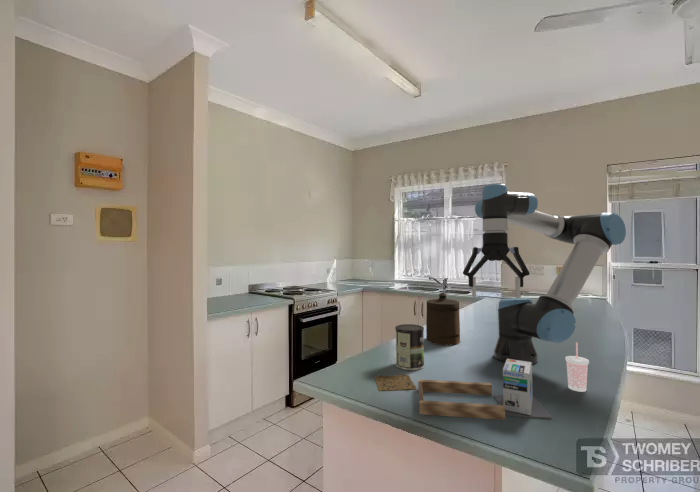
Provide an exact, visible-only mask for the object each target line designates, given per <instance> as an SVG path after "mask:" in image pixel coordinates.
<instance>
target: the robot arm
mask: <svg viewBox="0 0 700 492" xmlns="http://www.w3.org/2000/svg"><path fill="white" fill-rule="evenodd" d="M481 194H482V195H481V199H478V200H477V202H476V204H475V205H474V211H475V215H476V216H477V217H478V218H480V219H482V232H484V233H483V234H482V247H476V246H474V247H473V248H472V252H471V253H472V254H471V255H470V257H469V259H468V261H467V263H466V265H465V267H464V269H463V271H462V274H463V275H464V276H466V277H467V278H468V287H469V288H471V296H472V297H473V298H477V287H476V285H477V284H476V282H477V280H476V279H477V277H476V276H475V275H476V274H477V273H478V271H479V270H480V269H481V268H482V267H483V266H484V265H485V264H486V263H487V262H488V261H490V262H493V261H498V262H501V261H504V263H506V265H507V266H508V267H509V268H510V269H511V270H512V271H513V272H514V274H515V275H516V276H514V286H515V287H514V289H515V290H514V293H515V295H514V297H513V298H502V299H500V300H499V301H498V308H497V315H498V338H497V341H496V345H495V347H494V350H493V354H494V355H493V357H494V358H495V359H496V360H498V361H500V362H504V363H505V362H506V360H507V359H513V360H519V361H526V362H532V365H535V364H537V363H538V362H539V360H538V359H539V358H538V357H539V355H538V352H537V349H536V347H535V343H534V340H533V338H536V339H538V340H542V341H544V342H548V343H555V344H560V343H563V342H564V343H565V342H566V341H567V340H569V339H570V338H571V337H572V336H573V335H574V334H575V333H574V332H575V331H576V328H577V327H576V325H575V324H576V323H577V321H576V317H575V311H574V309H573V305H574V304H575V302H576V300H577V298H578V296H579V295H580V293H581V291H582V289H583V288H584V285H585V284H586V282H587V280H588V279H589V278H590V277H589V276H590V275H591V273H592V271H593V270H594V268H595V266H596V264H597V262H598V261H599V259H600V257H601V255H606V254H607V253H609V251H610V249H611V247H612V246H618V245H620V244H623V242H624V241H625V239H626V235H627V234H626V233H627V232H626V231H627V229H626V225H625V222H624V219H623V218H622V217H621V216H620V215H619V214H618V213H615V212H605V211H604V212H601V213H590V214H589V213H588V214H578V215H577V214H576V215H575V214H574V215H560V214H548V213H545V212H542V211H538V210H537V208H538V202H539V201H538V197H537V196H536V195H535V194H533V193H531V192H526V191H523V192H522V191H521V192H520V191H519V192H517V191H508V186H507V185H506V184H505V183H493V184H488V185H484V187H483V188H482V193H481ZM508 224H511V225H513V226H517V227H521V228H524V229H527V230H531V231H535V232H538V233H541V234H544V236H545V237H547V238H549V239H553V240H556V241H559V242H562V243H566V244H571V245H574V246H573V248H572V249H571V251H570V253H569V255H568V256H567V258H566V260H565V261H564V263H563V265H562V267H561V268H560V270H559V272H558V273H557V275H556V277H555V279H554V281H553V283H552V284H551V285H550V287H549V289H548V291H547V293H546V294H543V295H539V296H538V299H537V300H536V302H535V303H533V300H532V299H531V298H529V297H521V288H524V278H525V277H527V276H530V274H531V273H530V271H529V269H528V267H527V266H526V264H525V262H524V260H523V258H522V256H521V254H520V251H519V249H520V248H519V247H518V246H512V247H509V245H508V243H509V241H508V233H507V231H508ZM509 252H510V254H512V255H513V256H514V259H515V261H516V262H517V264H518V266H519V268H518V267H517V266H516V265H515V263H513V262H512V260H511V259H510V257H508V254H509ZM480 253H481V254H483V256H482V258H480V260H479V261H478V262H477V264H476V265H475V266H474V267H473V268H472V266H473V264H474V263H475V260H476V258H477V256H478V255H479V254H480ZM470 270H471V271H470Z"/></svg>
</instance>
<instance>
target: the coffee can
mask: <svg viewBox="0 0 700 492" xmlns="http://www.w3.org/2000/svg"><path fill="white" fill-rule="evenodd" d="M424 330H425V329H424V326H422V325H420V324H413V323H410V324H409V323H405V324H398V325H396V326H395V353H396V354H395V355H396V357H395V358H396V359H395V360H396V362H395V366H396V368H398V369H401V370H404V371H419V370H422V369H424V368H425V353H424V352H425V349H424V348H425V341H424V339H425V338H424V333H425V331H424Z"/></svg>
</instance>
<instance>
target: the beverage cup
mask: <svg viewBox="0 0 700 492" xmlns="http://www.w3.org/2000/svg"><path fill="white" fill-rule="evenodd" d="M578 343H579V342H577V341H575V355H566V356H565V361H566V372H567V373H566V375H567V387H568V389H569V390H571V391H575V392H581V393H584V392H586V391H587V385H588V384H587V383H588V369H589V368H588V367H589V364H590V361H589V359H588V358H586V357H582V356H579V348H578V346H579V344H578Z"/></svg>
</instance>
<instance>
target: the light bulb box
mask: <svg viewBox="0 0 700 492" xmlns="http://www.w3.org/2000/svg"><path fill="white" fill-rule="evenodd" d="M502 385H503V386H502V395H503V405H504V407H505V410H508V411H512V412H517V413H522V414H527V415H531V410H532V403H533V397H534V396H533V364H532V362H526V361H519V360H513V359H507V360H506V362H504V365H503V367H502Z"/></svg>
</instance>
